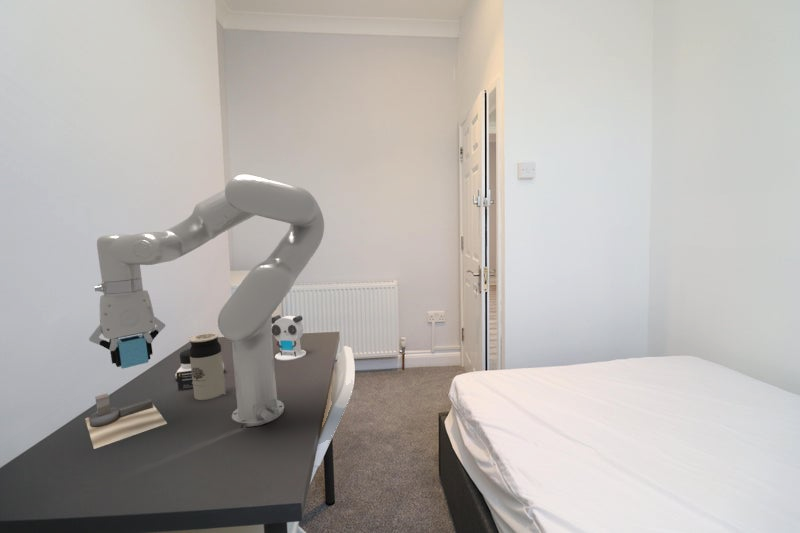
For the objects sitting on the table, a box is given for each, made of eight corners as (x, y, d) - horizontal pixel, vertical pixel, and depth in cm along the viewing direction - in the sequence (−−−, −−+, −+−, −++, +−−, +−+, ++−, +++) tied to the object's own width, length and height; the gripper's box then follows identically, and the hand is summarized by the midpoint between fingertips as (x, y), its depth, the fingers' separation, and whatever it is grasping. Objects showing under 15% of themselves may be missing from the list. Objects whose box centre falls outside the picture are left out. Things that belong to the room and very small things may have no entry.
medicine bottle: (178, 394, 110) (174, 355, 109) (185, 385, 117) (181, 348, 116) (205, 390, 112) (200, 352, 111) (210, 381, 119) (206, 345, 118)
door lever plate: (167, 427, 91) (164, 397, 90) (94, 454, 82) (89, 420, 81) (149, 403, 106) (146, 376, 105) (85, 422, 96) (81, 394, 95)
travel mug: (215, 389, 113) (209, 331, 111) (231, 394, 109) (225, 334, 107) (189, 400, 106) (182, 338, 104) (205, 406, 102) (198, 342, 100)
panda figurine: (267, 359, 137) (263, 319, 136) (285, 349, 148) (282, 312, 147) (295, 361, 134) (292, 320, 132) (311, 350, 145) (308, 313, 143)
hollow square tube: (148, 362, 90) (145, 338, 89) (122, 368, 86) (118, 343, 85) (144, 357, 93) (140, 334, 93) (118, 363, 90) (114, 339, 89)
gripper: (76, 294, 79) (89, 377, 81) (168, 283, 91) (177, 355, 93) (74, 291, 84) (85, 369, 86) (161, 281, 96) (169, 349, 98)
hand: (133, 361), depth 90 cm, fingers closed on hollow square tube, 5 cm apart
